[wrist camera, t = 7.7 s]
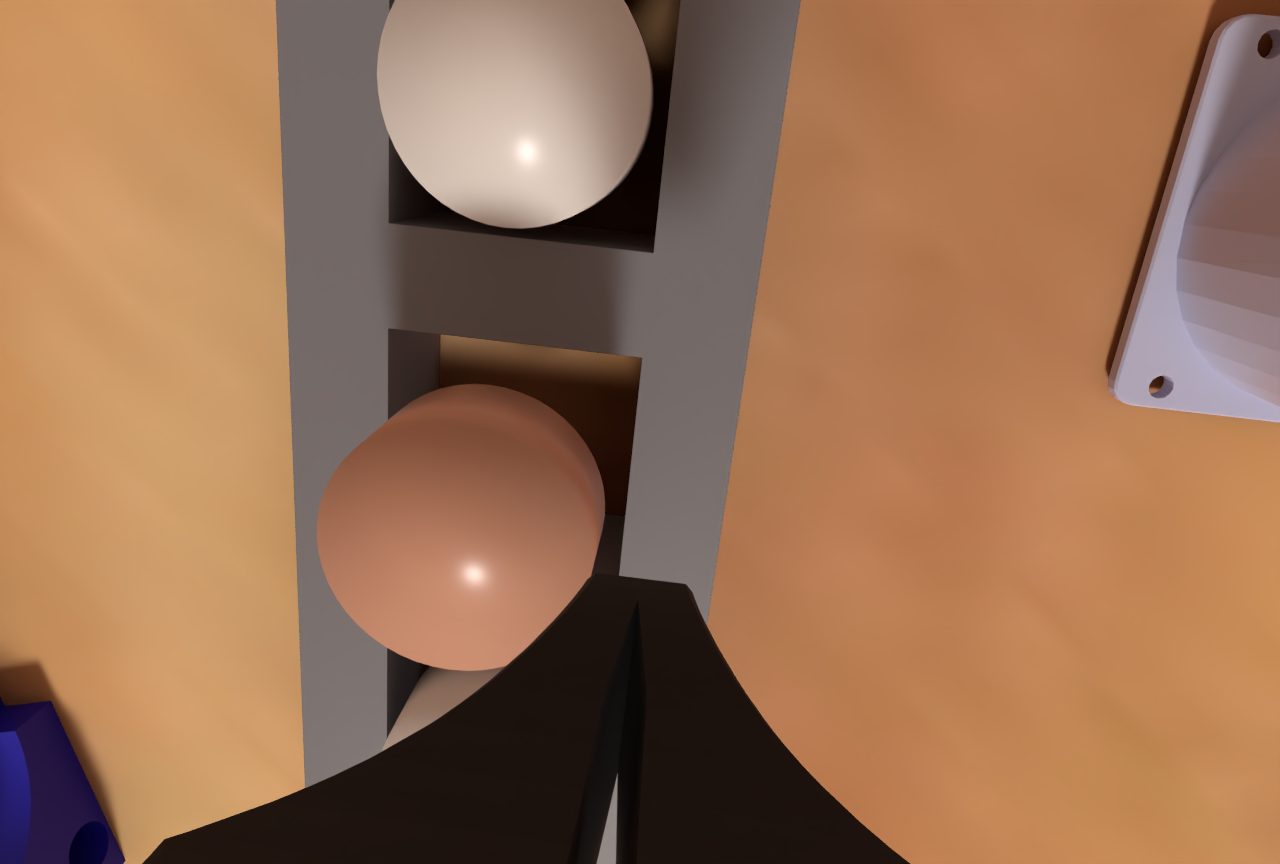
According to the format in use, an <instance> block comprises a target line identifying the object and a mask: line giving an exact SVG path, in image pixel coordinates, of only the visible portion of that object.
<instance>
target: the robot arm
mask: <svg viewBox="0 0 1280 864" xmlns="http://www.w3.org/2000/svg"><path fill="white" fill-rule="evenodd" d="M1265 33H1266V34H1269V35H1270V37H1271V39H1272V40H1273V43H1272V49H1271V51H1270V53H1269V55H1268V56H1267V57H1265V58H1263V57H1261V56H1260V54H1259V53H1258V51H1257V48H1258V42H1259V40H1260V38H1261V37H1262V35H1263V34H1265ZM1158 376H1163V377H1164V384H1163V386H1162V387H1161V389H1160V390H1158V391H1157V392H1155V393H1149V385H1150V383H1151V382H1152V380H1153V379H1155V378H1156V377H1158ZM1108 388H1109V391H1110V394H1112V395H1113V396H1114V397H1115V398H1116V399H1117V400H1119V401H1121V402H1123V403H1126V404H1129V405H1134V406H1143V407H1151V408H1160V409H1168V410H1177V411H1186V412H1194V413H1203V414H1212V415H1220V416H1229V417H1237V418H1246V419H1255V420H1263V421H1272V422H1280V16H1270V15H1260V14H1246V15H1240V16H1236V17H1233V18H1231V19H1229V20H1227V21H1225V22H1223V23H1222V24H1221V25H1220V26H1219V27H1218V28H1217V29H1216V30H1215V31H1214V33H1213V35H1212V37H1211V39H1210V41H1209V45H1208V48H1207V51H1206V55H1205V58H1204V61H1203V65H1202V68H1201V71H1200V75H1199V78H1198V81H1197V85H1196V88H1195V91H1194V95H1193V98H1192V101H1191V105H1190V108H1189V111H1188V115H1187V118H1186V121H1185V125H1184V128H1183V131H1182V135H1181V138H1180V141H1179V145H1178V148H1177V151H1176V155H1175V158H1174V161H1173V165H1172V168H1171V171H1170V175H1169V178H1168V181H1167V185H1166V188H1165V191H1164V195H1163V198H1162V201H1161V205H1160V208H1159V211H1158V215H1157V218H1156V221H1155V225H1154V228H1153V231H1152V235H1151V238H1150V241H1149V245H1148V248H1147V251H1146V255H1145V258H1144V261H1143V265H1142V268H1141V271H1140V275H1139V278H1138V281H1137V285H1136V288H1135V291H1134V295H1133V298H1132V301H1131V305H1130V308H1129V311H1128V315H1127V318H1126V321H1125V325H1124V328H1123V331H1122V335H1121V338H1120V341H1119V345H1118V348H1117V351H1116V355H1115V358H1114V361H1113V365H1112V368H1111V371H1110V375H1109V378H1108ZM617 774H618V780H617V830H616V864H910V863H909V862H907V861H906V860H905V859H903V858H902V857H901V856H900V855H898V854H897V853H896V852H895V851H893V850H892V849H891V848H890V847H888V846H887V845H886V844H885V843H884V842H883V841H881V840H880V839H879V838H878V837H877V836H876V835H874V834H873V833H872V832H871V831H870V830H868V829H867V828H866V827H865V826H864V825H863V824H862V823H860V822H859V821H858V820H857V819H856V818H855V817H854V816H853V815H852V814H851V813H850V812H849V811H848V810H847V809H846V808H844V807H843V806H842V805H841V804H840V803H839V802H838V801H837V800H836V799H835V798H834V797H833V796H832V795H831V794H830V793H829V792H828V791H827V790H825V789H824V788H823V787H822V786H821V785H820V784H819V783H818V781H817V780H816V779H815V778H814V777H813V776H812V775H811V774H810V773H809V772H808V771H807V770H806V769H805V768H804V767H803V766H802V765H801V764H800V762H799V761H798V760H797V759H796V758H795V757H794V756H793V754H792V753H791V752H790V751H789V750H788V749H787V747H786V746H785V745H784V744H783V743H782V742H781V740H780V739H779V738H778V737H777V735H776V734H775V733H774V732H773V730H772V729H771V728H770V726H769V725H768V724H767V722H766V721H765V720H764V718H763V717H762V715H761V714H760V713H759V711H758V710H757V708H756V707H755V705H754V704H753V703H752V701H751V700H750V698H749V697H748V696H747V694H746V693H745V691H744V689H743V688H742V686H741V685H740V683H739V682H738V680H737V679H736V677H735V675H734V674H733V672H732V670H731V669H730V667H729V665H728V664H727V662H726V660H725V658H724V657H723V655H722V653H721V652H720V650H719V648H718V646H717V645H716V643H715V641H714V639H713V637H712V635H711V633H710V631H709V629H708V627H707V625H706V623H705V621H704V619H703V617H702V615H701V613H700V610H699V608H698V605H697V603H696V600H695V598H694V595H693V592H692V591H691V590H690V588H689V587H688V586H687V585H686V584H682V583H674V582H666V581H658V580H650V579H642V578H634V577H626V576H618V575H610V574H602V573H595V574H594V575H593V576H591V577H590V578H588V579H587V580H586V582H585V583H584V585H583V586H582V587H581V589H580V590H579V591H578V593H577V594H576V595H575V596H574V598H573V599H572V600H571V601H570V603H569V604H568V605H567V606H566V607H565V608H564V609H563V611H562V612H561V613H560V614H559V615H558V616H557V617H556V618H555V619H554V620H553V622H552V623H551V624H550V625H549V626H548V627H547V628H546V629H545V630H544V631H543V632H542V633H541V634H540V635H539V636H538V637H537V638H536V639H535V640H534V641H533V642H532V643H531V644H530V645H529V646H528V647H527V648H526V649H525V650H524V651H523V652H521V653H520V654H519V655H518V656H517V657H516V658H515V659H514V660H512V661H511V662H510V663H509V664H508V665H507V666H506V667H504V668H503V669H502V670H501V671H500V672H499V673H498V674H497V675H495V676H494V677H493V678H492V679H491V680H490V681H488V682H487V683H486V684H485V685H483V686H482V687H481V688H479V689H478V690H477V691H476V692H474V693H473V694H472V695H470V696H469V697H468V698H466V699H465V700H464V701H462V702H461V703H460V704H458V705H457V706H455V707H454V708H453V709H451V710H450V711H448V712H447V713H445V714H444V715H443V716H441V717H440V718H438V719H437V720H435V721H434V722H432V723H431V724H429V725H427V726H425V727H424V728H422V729H420V730H419V731H417V732H415V733H413V734H412V735H410V736H408V737H406V738H405V739H403V740H401V741H399V742H398V743H396V744H394V745H392V746H391V747H389V748H387V749H385V750H384V751H382V752H380V753H378V754H377V755H375V756H373V757H371V758H369V759H367V760H365V761H363V762H361V763H359V764H357V765H355V766H352V767H350V768H348V769H346V770H344V771H342V772H340V773H338V774H336V775H334V776H332V777H329V778H327V779H325V780H322V781H320V782H318V783H316V784H313V785H311V786H309V787H307V788H304V789H302V790H300V791H297V792H295V793H293V794H290V795H288V796H285V797H283V798H280V799H278V800H275V801H273V802H270V803H268V804H265V805H262V806H259V807H256V808H254V809H251V810H248V811H245V812H242V813H240V814H237V815H234V816H231V817H228V818H226V819H223V820H220V821H217V822H214V823H212V824H209V825H206V826H203V827H200V828H197V829H195V830H192V831H189V832H186V833H183V834H180V835H176V836H173V837H170V838H167V839H165V840H164V841H163V842H162V843H161V844H160V845H159V846H158V847H157V848H156V849H155V850H154V852H153V853H152V854H151V855H150V856H149V857H148V858H147V859H146V860H145V861H144V862H143V864H597V860H598V856H599V851H600V847H601V843H602V839H603V834H604V830H605V826H606V821H607V817H608V813H609V809H610V804H611V800H612V796H613V791H614V787H615V782H616V778H617Z"/></svg>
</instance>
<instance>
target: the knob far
mask: <svg viewBox="0 0 1280 864" xmlns="http://www.w3.org/2000/svg"><path fill="white" fill-rule="evenodd" d="M504 667H506V666H503V667H500V668H494V669H488V670H476V671H461V670H449V669H443V668H438V667H432V666H430V667H429V668H428V669H427V670H426V671H425V672H424V673H423V675H422V676H421V677H420V679H419V680H418V682H417V683H416V685H415V687H414V689H413V691H412V693H411V694H410V696H409V698H408V700H407V702H406V704H405V706H404V708H403V710H402V711H401V713H400V715H399V717H398V719H397V721H396V723H395V725H394V727H393V728H392V730H391V732H390V734H389V736H388V738H387V740H386V742H385V744H384V746H383V748H382V751H384V750H385V749H387V748H389V747H391V746H392V745H394V744H396V743H398V742H399V741H401V740H403V739H405V738H406V737H408V736H410V735H412V734H413V733H415V732H417V731H419V730H420V729H422V728H424V727H425V726H427V725H429V724H431V723H432V722H434V721H435V720H437V719H438V718H440V717H441V716H443V715H444V714H445V713H447V712H448V711H450V710H451V709H453V708H454V707H455V706H457V705H458V704H460V703H461V702H462V701H464V700H465V699H466V698H468V697H469V696H470V695H472V694H473V693H474V692H476V691H477V690H478V689H479V688H481V687H482V686H483V685H485V684H486V683H487V682H488V681H490V680H491V679H492V678H493V677H494V676H495V675H497V674H498V673H499V672H500V671H501V670H502V669H503V668H504ZM382 751H381V752H382Z"/></svg>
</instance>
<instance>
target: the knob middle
mask: <svg viewBox="0 0 1280 864" xmlns="http://www.w3.org/2000/svg"><path fill="white" fill-rule="evenodd" d="M604 517H605V496H604V487H603V483H602V479H601V475H600V472H599V469H598V467H597V464H596V462H595V459H594V457H593V455H592V453H591V452H590V450H589V448H588V446H587V445H586V443H585V442H584V440H583V439H582V438H581V436H580V435H579V434H578V433H577V431H576V430H575V429H574V428H573V427H572V426H571V425H570V424H569V423H568V422H567V421H566V420H565V419H564V418H563V417H562V416H560V415H559V414H558V413H557V412H555V411H554V410H553V409H552V408H550V407H548V406H547V405H545V404H543V403H542V402H540V401H539V400H537V399H535V398H532V397H530V396H528V395H526V394H524V393H521V392H518V391H515V390H512V389H508V388H505V387H499V386H494V385H485V384H465V385H455V386H450V387H445V388H441V389H438V390H435V391H432V392H430V393H427V394H425V395H423V396H421V397H419V398H417V399H415V400H413V401H412V402H410V403H409V404H408V405H406V406H405V407H403V408H402V409H401V410H399V411H398V412H397V413H396V414H395V415H394V416H392V417H391V418H390V419H389V420H388V421H387V422H385V423H384V424H383V425H382V426H381V427H380V428H378V429H377V430H376V431H375V432H374V433H373V434H371V435H370V436H369V437H368V438H367V439H366V440H364V441H363V442H362V443H361V444H360V445H359V446H357V447H356V448H355V449H354V450H353V451H352V452H351V453H350V454H349V455H348V456H347V457H346V458H345V459H344V460H343V461H342V462H341V464H340V465H339V466H338V468H337V469H336V470H335V472H334V473H333V475H332V477H331V479H330V480H329V482H328V484H327V486H326V488H325V491H324V494H323V497H322V499H321V502H320V507H319V512H318V517H317V544H318V553H319V557H320V561H321V565H322V568H323V571H324V574H325V576H326V579H327V581H328V584H329V586H330V587H331V589H332V591H333V593H334V595H335V597H336V598H337V600H338V601H339V603H340V604H341V606H342V607H343V608H344V610H345V611H346V612H347V614H348V615H349V616H350V617H351V618H352V619H353V620H354V621H355V623H356V624H357V625H358V626H359V627H361V628H362V629H363V630H364V631H365V632H366V633H367V634H368V635H370V636H371V637H372V638H374V639H375V640H376V641H378V642H379V643H381V644H382V645H383V646H385V647H387V648H389V649H390V650H392V651H394V652H396V653H398V654H399V655H402V656H404V657H406V658H409V659H411V660H413V661H416V662H419V663H422V664H426V665H429V666H432V667H438V668H443V669H449V670H461V671H476V670H488V669H494V668H500V667H503V666H507V665H508V664H509V663H510V662H511V661H512V660H514V659H515V658H516V657H517V656H518V655H519V654H520V653H521V652H523V651H524V650H525V649H526V648H527V647H528V646H529V645H530V644H531V643H532V642H533V641H534V640H535V639H536V638H537V637H538V636H539V635H540V634H541V633H542V632H543V631H544V630H545V629H546V628H547V627H548V626H549V625H550V624H551V623H552V622H553V620H554V619H555V618H556V617H557V616H558V615H559V614H560V613H561V612H562V611H563V609H564V608H565V607H566V606H567V605H568V604H569V603H570V601H571V600H572V599H573V598H574V596H575V595H576V594H577V593H578V591H579V590H580V589H581V587H582V586H583V585H584V583H585V582H586V580H587V579H588V578H590V577H591V574H592V570H593V566H594V562H595V557H596V553H597V549H598V545H599V541H600V537H601V533H602V529H603V523H604Z"/></svg>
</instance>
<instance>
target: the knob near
mask: <svg viewBox="0 0 1280 864" xmlns="http://www.w3.org/2000/svg"><path fill="white" fill-rule="evenodd" d="M377 83H378V95H379V101H380V106H381V112H382V115H383V118H384V122H385V125H386V128H387V131H388V133H389V136H390V138H391V140H392V142H393V145H394V147H395V149H396V151H397V152H398V154H399V156H400V157H401V159H402V161H403V163H404V164H405V165H406V167H407V168H408V169H409V171H410V172H411V173H412V175H413V176H414V177H415V179H416V180H417V181H418V182H419V183H420V184H421V185H422V186H423V187H424V188H425V189H426V190H427V191H428V192H429V193H430V194H431V195H433V196H434V197H435V198H436V199H437V200H439V201H440V202H441V203H443V204H444V205H446V206H447V207H449V208H451V209H452V210H454V211H455V212H457V213H459V214H461V215H463V216H466V217H468V218H470V219H472V220H475V221H478V222H481V223H484V224H487V225H492V226H498V227H503V228H521V229H522V228H533V227H541V226H545V225H549V224H553V223H557V222H559V221H562V220H564V219H567V218H570V217H572V216H574V215H576V214H578V213H580V212H582V211H584V210H586V209H588V208H590V207H592V206H594V205H596V204H597V203H599V202H600V201H602V200H603V199H604V198H606V197H607V196H608V195H610V194H611V193H612V192H613V191H614V190H615V189H616V188H617V187H618V186H619V185H620V184H621V183H622V182H623V181H624V180H625V178H626V177H627V176H628V175H629V173H630V172H631V171H632V169H633V168H634V166H635V164H636V162H637V161H638V159H639V157H640V155H641V153H642V151H643V148H644V146H645V144H646V141H647V138H648V135H649V131H650V128H651V123H652V117H653V111H654V82H653V73H652V68H651V63H650V58H649V55H648V52H647V49H646V46H645V43H644V41H643V39H642V36H641V34H640V32H639V29H638V27H637V25H636V23H635V21H634V19H633V16H632V14H631V12H630V10H629V8H628V6H627V5H626V3H625V1H624V0H395V1H394V3H393V5H392V8H391V10H390V12H389V14H388V16H387V19H386V22H385V25H384V29H383V32H382V35H381V40H380V46H379V51H378V63H377Z"/></svg>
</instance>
